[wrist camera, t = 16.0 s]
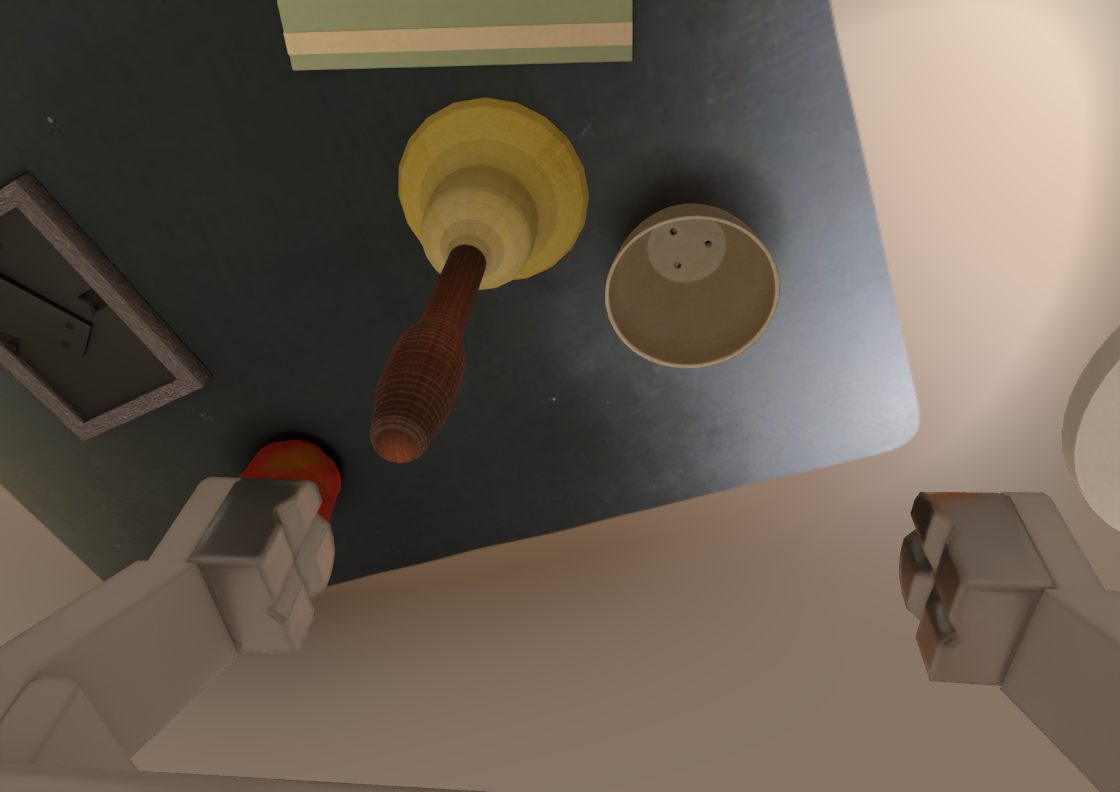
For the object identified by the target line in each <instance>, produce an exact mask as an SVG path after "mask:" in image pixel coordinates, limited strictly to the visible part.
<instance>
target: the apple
mask: <svg viewBox="0 0 1120 792" xmlns="http://www.w3.org/2000/svg"><path fill="white" fill-rule="evenodd" d="M243 477H246V478H269V479H292V480H309V481H312V482H314V483H316V484H317V487H318V490H319V493H320V495H321V498H322V503H321V505H320V507H319V510H318V512H317V514H319V515H320V516H321V517H322V518H323V519H325V520H326V521H327V522H328V523H329V524H330V519H331V514H332V509H333V507H334V504H335V502H336V499H337V496H338V494H339V491H340V489H341V474H340V472H339V470H338V469H337V467H336V465H335V463H334V461H332V460H331V459H330V458H329V457H328V456H327V455H326V454H325V453H324V452H323V451H322V450H321V449H320V448H319V447H318V446H316V445H314V444H312V443H310V442H308V441H303V440H297V439H296V440H288V441H281V442H275V443H270V444H268V445H267V446H265V447H263V448H262V449H260V450H259V451H258V452H257V454H256V455H255V457H254V458H253V460H252V461H251V463H250V464H249V466H248V467H247V468H246V470H245V471H244V472H243V473H242V474H241V475H240V476H239V478H243Z"/></svg>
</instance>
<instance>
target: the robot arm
mask: <svg viewBox="0 0 1120 792" xmlns="http://www.w3.org/2000/svg"><path fill="white" fill-rule="evenodd" d="M321 503H322V498H321V495H320V493H319V490H318V487H317V484H316V483H314V482H312V481H309V480H292V479H269V478H246V477H243V478H228V477H208V478H207V479H205V480H203V481H201V482H200V483H199V485H198V486H197V488H196V489H195V491H194V492H193V494H192V495H191V497H190V498H189V500H188V501H187V503H186V504H185V506H184V507H183V509H182V510H181V512H180V513H179V515H178V516H177V518H176V519H175V521H174V522H173V524H172V525H171V527H170V528H169V530H168V531H167V533H166V534H165V536H164V537H163V539H162V540H161V542H160V543H159V545H158V546H157V548H156V549H155V551H154V552H153V554H152V555H151V557H150V558H149V560H148V561H136V562H135V563H133V564H132V565H130V566H128V567H127V568H125V569H124V570H122V571H120V572H119V573H117V574H116V575H114V576H112V577H111V578H109V579H108V580H106V581H104V582H103V583H101V584H100V585H98V586H96V587H95V588H93V589H92V590H90V591H89V592H87V593H85V594H84V595H82V596H81V597H79V598H77V599H76V600H74V601H72V602H71V603H69V604H68V605H66V606H64V607H63V608H61V609H60V610H58V611H56V612H55V613H53V614H52V615H50V616H48V617H47V618H45V619H44V620H42V621H40V622H39V623H37V624H36V625H34V626H33V627H31V628H29V629H28V630H26V631H24V632H23V633H21V634H20V635H18V636H17V637H15V638H13V639H12V640H10V641H8V642H7V643H5V644H4V645H2V646H0V792H482V791H467V790H450V789H449V790H448V789H434V788H417V787H400V786H384V785H367V784H351V783H334V782H317V781H300V780H284V779H267V778H250V777H234V776H215V775H200V774H183V773H167V772H150V771H138V769H137V768H136V766H135V765H134V763H133V762H132V760H131V759H130V758H131V757H132V756H133V755H134V754H135V753H136V752H137V751H138V750H139V749H141V748H142V747H143V746H144V745H145V744H146V743H147V742H148V741H149V740H150V739H151V738H152V737H153V736H155V735H156V733H158V732H159V731H160V730H161V729H162V728H163V727H164V726H165V725H166V724H167V723H168V722H169V721H171V720H172V719H173V717H175V716H176V715H177V714H178V713H179V712H180V711H181V710H182V709H183V708H184V707H186V705H188V704H189V703H190V702H191V701H192V700H193V699H194V698H195V697H196V696H197V695H198V694H199V693H200V692H201V691H203V690H204V689H205V688H206V687H207V686H208V685H209V684H210V683H211V682H212V681H213V680H214V679H215V678H216V677H217V676H219V675H220V674H221V673H222V672H223V671H224V670H225V669H226V668H227V667H228V666H229V665H230V664H231V663H233V662H234V661H235V660H236V659H237V658H238V657H239V654H238V653H284V654H287V653H288V654H298V653H299V651H300V649H301V646H302V644H303V641H304V639H305V636H306V634H307V632H308V629H309V627H310V625H311V622H312V620H313V617H314V615H315V613H314V611H313V607H312V605H311V602H310V600H311V599H313V598H314V597H315V596H317V595H318V594H319V593H320V592H322V591H323V590H324V589H325V588H326V586H327V583H328V580H329V578H330V575H331V573H332V567H333V560H334V553H335V550H334V538H333V533H332V530H331V527H330V524H329V523H328V522H327V521H326V520H325V519H323V518H322V517H321V516H320V515H319V514H317V512H318V510H319V507H320V505H321ZM911 517H912V519H913V522H914V525H915V528H916V529H915V530H914V531H913V532H911V533H910V534H909V535H907V536H906V537H905V538H904V540H903V545H902V548H901V553H900V563H899V566H900V567H899V578H900V584H901V590H902V594H903V598H904V601H905V605H906V608H907V609H908V610H909V611H910V612H912V613H913V614H914V615H915V616H916V617H917V618H919V619H920V620H921V621H920V624H919V627H918V631H917V634H916V640H917V642H918V646H919V649H920V652H921V655H922V658H923V661H924V664H925V667H926V670H927V673H928V676H929V679H930V681H941V682H955V683H969V684H970V683H971V684H984V685H999V686H1001V688H1000V689H1001V690H1002V691H1003V692H1004V693H1005V694H1006V695H1007V696H1008V697H1009V699H1010V700H1012V702H1014V704H1016V706H1017V707H1018V708H1019V709H1020V710H1021V711H1022V712H1023V713H1024V714H1025V715H1026V716H1027V717H1028V718H1029V719H1030V720H1031V721H1032V722H1033V723H1034V724H1035V725H1036V726H1037V727H1038V728H1039V729H1040V730H1041V731H1042V732H1043V733H1044V734H1045V735H1046V737H1047V738H1048V739H1049V740H1050V741H1051V742H1052V743H1053V744H1054V745H1055V746H1056V747H1057V748H1058V749H1059V750H1060V751H1061V752H1062V753H1063V754H1064V755H1065V756H1066V757H1067V758H1068V759H1069V760H1070V761H1071V762H1072V763H1073V764H1074V765H1075V766H1076V767H1077V768H1078V769H1079V770H1080V771H1081V773H1083V775H1084V776H1085V777H1086V778H1088V780H1089V781H1090V782H1091V783H1092V784H1093V785H1094V786H1095V787H1096V788H1097V789H1098V790H1099V791H1100V792H1120V592H1119V591H1105V589H1104V587H1103V586H1102V584H1101V583H1100V581H1099V579H1098V577H1097V575H1096V574H1095V572H1094V570H1093V569H1092V567H1091V565H1090V564H1089V562H1088V560H1087V558H1086V557H1085V555H1084V553H1083V552H1082V550H1081V548H1080V546H1079V545H1078V543H1077V541H1076V540H1075V538H1074V536H1073V535H1072V533H1071V531H1070V529H1069V528H1068V526H1067V524H1066V523H1065V521H1064V519H1063V517H1062V516H1061V514H1060V512H1059V511H1058V509H1057V507H1056V505H1055V504H1054V502H1053V500H1052V499H1051V498H1050V497H1049V496H1048V495H1046V494H1045V493H1001V494H999V493H965V492H963V493H960V492H920V493H919V495H918V496H917V497H916V499H915V500H914V504H913V507H912V511H911ZM483 792H484V791H483Z"/></svg>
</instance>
